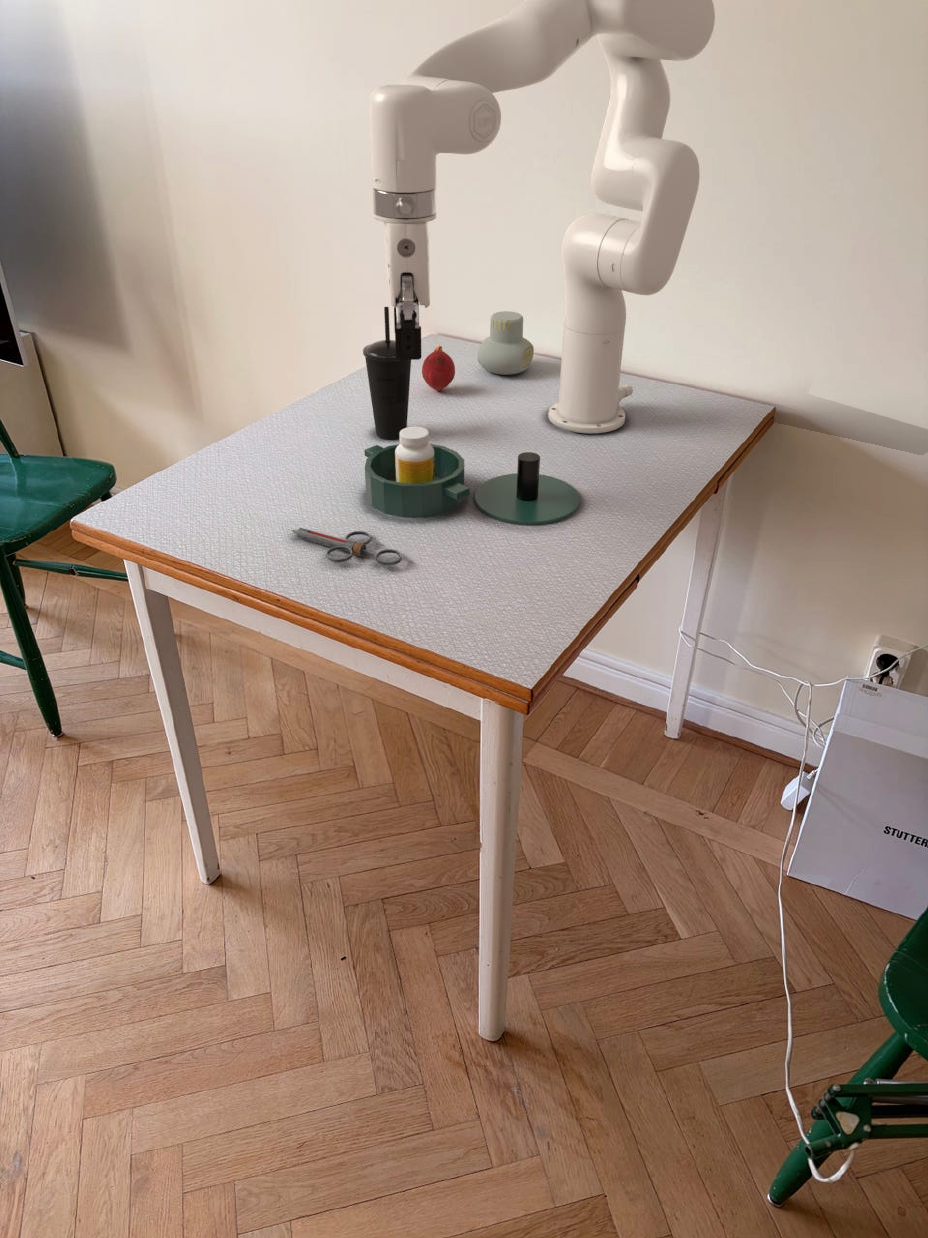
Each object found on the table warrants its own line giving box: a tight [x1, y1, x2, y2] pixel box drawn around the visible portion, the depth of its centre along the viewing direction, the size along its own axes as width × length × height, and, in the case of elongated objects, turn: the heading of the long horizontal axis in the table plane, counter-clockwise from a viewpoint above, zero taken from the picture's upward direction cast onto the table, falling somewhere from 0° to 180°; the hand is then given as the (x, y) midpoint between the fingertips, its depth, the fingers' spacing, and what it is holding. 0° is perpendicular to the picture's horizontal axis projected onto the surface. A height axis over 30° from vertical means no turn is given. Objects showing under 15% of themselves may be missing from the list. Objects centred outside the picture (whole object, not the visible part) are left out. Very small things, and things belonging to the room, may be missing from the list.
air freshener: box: [477, 311, 535, 376], centre depth 171 cm, size 11×8×10 cm
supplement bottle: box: [395, 426, 435, 483], centre depth 130 cm, size 5×5×10 cm
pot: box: [364, 442, 471, 519], centre depth 131 cm, size 14×19×5 cm
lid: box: [474, 451, 581, 526], centre depth 129 cm, size 15×15×7 cm
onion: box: [421, 345, 456, 392], centre depth 163 cm, size 6×6×8 cm
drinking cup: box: [362, 306, 412, 441], centre depth 145 cm, size 8×8×20 cm
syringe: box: [281, 526, 403, 567], centre depth 120 cm, size 8×18×2 cm, turn 63°
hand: (407, 346), depth 122 cm, fingers open, 9 cm apart
